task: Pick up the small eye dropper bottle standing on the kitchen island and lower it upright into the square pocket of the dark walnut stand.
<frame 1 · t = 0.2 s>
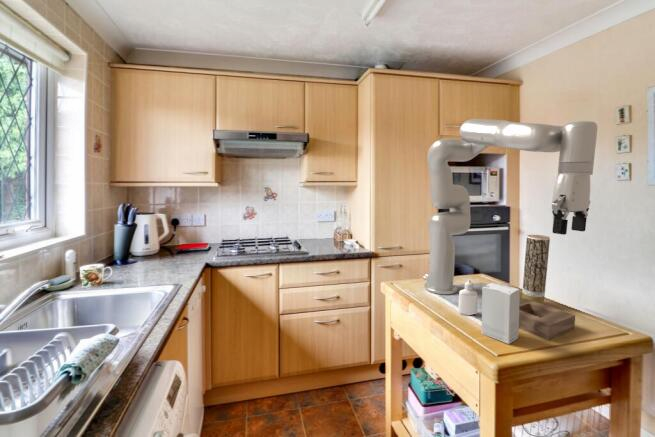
hand: (568, 232, 90), 31 cm above the table, tool pointing down, fingers open, 9 cm apart
eye dropper bottle: (467, 314, 110), on the table
skincare box: (498, 336, 94), on the table
bark textured log: (532, 305, 117), on the table
dropper stand: (533, 323, 102), on the table
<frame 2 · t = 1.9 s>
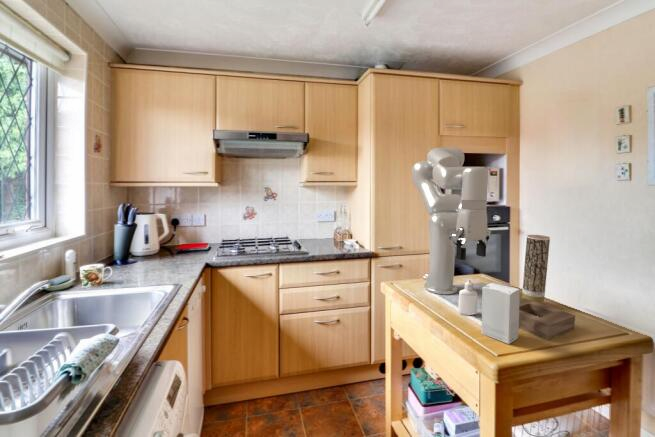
hand: (470, 257, 107), 20 cm above the table, tool pointing down, fingers open, 9 cm apart
nothing on the table moved.
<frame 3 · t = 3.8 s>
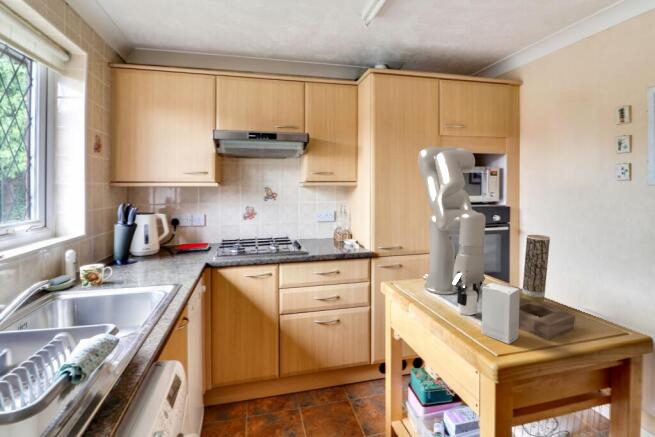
hand: (467, 302, 109), 4 cm above the table, tool pointing down, fingers closed on eye dropper bottle, 5 cm apart
eye dropper bottle: (467, 314, 110), on the table, touching gripper
everything else where it was.
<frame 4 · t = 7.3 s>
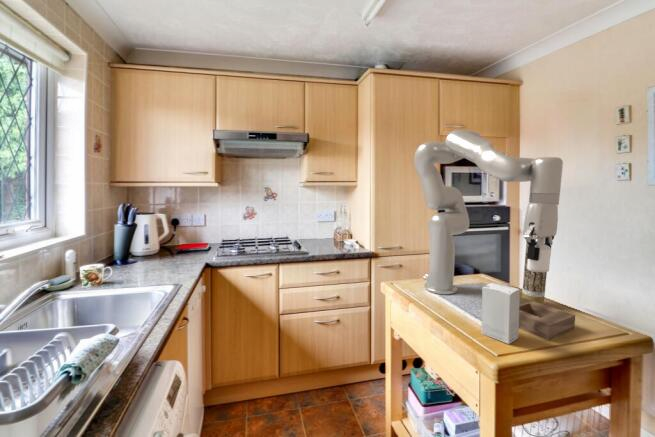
hand: (538, 257, 99), 21 cm above the table, tool pointing down, fingers closed on eye dropper bottle, 5 cm apart
eye dropper bottle: (537, 271, 100), point 17 cm above the table, touching gripper
everything else where it was.
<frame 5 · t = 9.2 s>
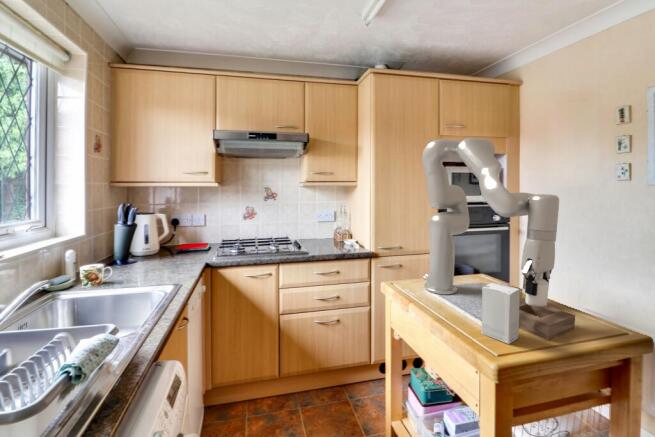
hand: (536, 292, 101), 10 cm above the table, tool pointing down, fingers closed on eye dropper bottle, 5 cm apart
eye dropper bottle: (535, 305, 101), point 6 cm above the table, touching gripper
everything else where it was.
when the fingers open (7 cm above the table, at t = 10.8 s): eye dropper bottle drops 2 cm, resting on dropper stand.
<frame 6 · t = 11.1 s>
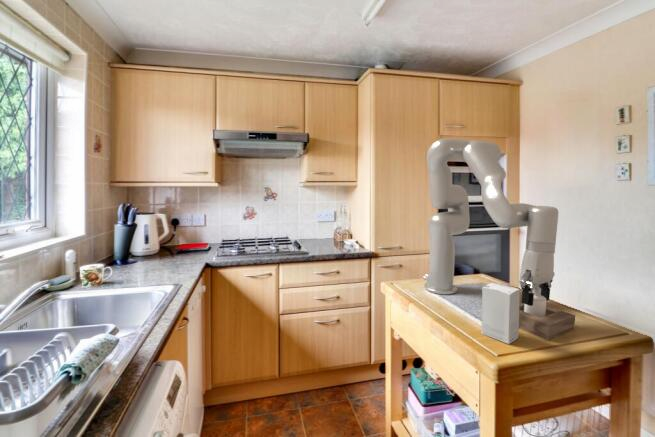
hand: (535, 301, 101), 7 cm above the table, tool pointing down, fingers open, 8 cm apart
eye dropper bottle: (533, 320, 102), point 1 cm above the table, touching dropper stand
everything else where it was.
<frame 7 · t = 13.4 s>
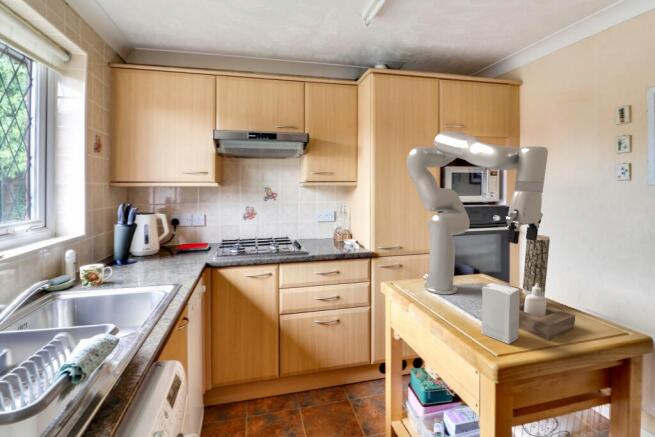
hand: (522, 241, 103), 26 cm above the table, tool pointing down, fingers open, 9 cm apart
nothing on the table moved.
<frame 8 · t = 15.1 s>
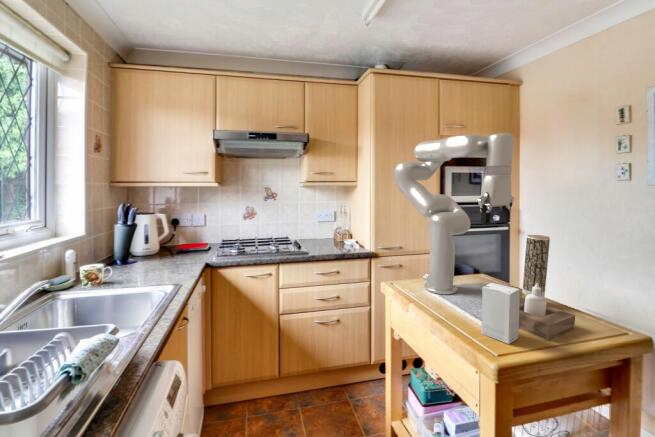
hand: (494, 223, 109), 30 cm above the table, tool pointing down, fingers open, 9 cm apart
nothing on the table moved.
at the end: eye dropper bottle 0.3 cm off-centre on the dropper stand, point 0.8 cm above the dropper stand's base; eye dropper bottle tilted 0°; the gripper is holding nothing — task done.
